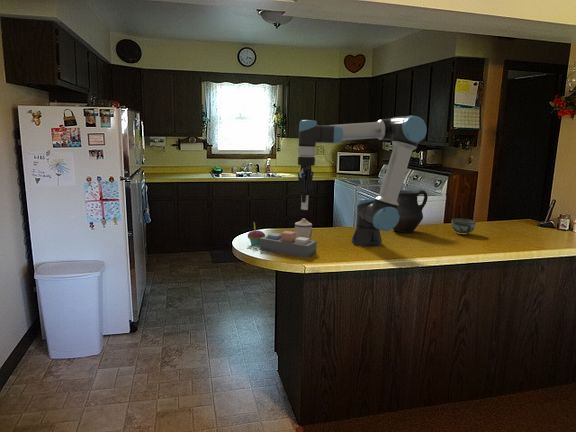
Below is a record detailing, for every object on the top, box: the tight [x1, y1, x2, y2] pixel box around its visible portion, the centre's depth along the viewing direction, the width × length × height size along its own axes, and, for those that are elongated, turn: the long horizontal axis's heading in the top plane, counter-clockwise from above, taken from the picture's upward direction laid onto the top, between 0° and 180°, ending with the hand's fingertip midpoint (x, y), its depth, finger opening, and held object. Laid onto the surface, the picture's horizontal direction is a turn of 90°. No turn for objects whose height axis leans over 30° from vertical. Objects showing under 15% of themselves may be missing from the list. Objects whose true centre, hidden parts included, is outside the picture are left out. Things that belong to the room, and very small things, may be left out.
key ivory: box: [295, 237, 310, 245], centre depth 199 cm, size 5×5×5 cm
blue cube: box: [267, 232, 281, 240], centre depth 204 cm, size 5×5×5 cm
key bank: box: [259, 235, 318, 259], centre depth 202 cm, size 24×10×6 cm, turn 64°
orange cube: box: [280, 230, 296, 242], centre depth 201 cm, size 5×5×5 cm
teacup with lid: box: [294, 218, 313, 240], centre depth 223 cm, size 12×9×12 cm
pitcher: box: [392, 189, 428, 234], centre depth 253 cm, size 21×22×25 cm
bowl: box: [451, 217, 477, 234], centre depth 254 cm, size 14×13×8 cm
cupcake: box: [247, 222, 266, 247], centre depth 211 cm, size 9×8×12 cm
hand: (304, 209), depth 196 cm, fingers closed
